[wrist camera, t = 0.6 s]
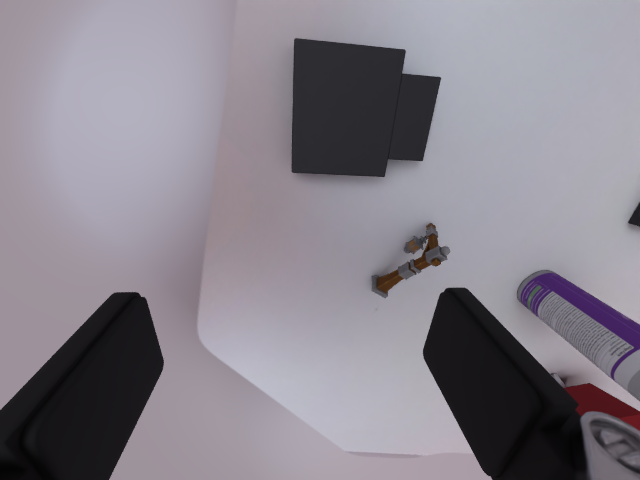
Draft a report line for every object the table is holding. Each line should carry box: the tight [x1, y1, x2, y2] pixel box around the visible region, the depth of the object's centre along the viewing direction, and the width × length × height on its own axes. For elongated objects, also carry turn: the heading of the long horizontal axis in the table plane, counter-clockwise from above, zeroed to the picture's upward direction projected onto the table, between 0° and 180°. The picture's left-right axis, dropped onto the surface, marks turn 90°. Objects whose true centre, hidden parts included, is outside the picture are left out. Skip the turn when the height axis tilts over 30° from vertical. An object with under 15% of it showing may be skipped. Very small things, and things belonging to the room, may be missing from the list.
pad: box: [292, 38, 441, 177], centre depth 20 cm, size 8×10×2 cm
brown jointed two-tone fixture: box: [372, 223, 450, 298], centre depth 25 cm, size 2×8×4 cm, turn 145°
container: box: [517, 270, 640, 401], centre depth 23 cm, size 5×5×15 cm
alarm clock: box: [551, 374, 640, 431], centre depth 30 cm, size 15×9×20 cm, turn 8°
